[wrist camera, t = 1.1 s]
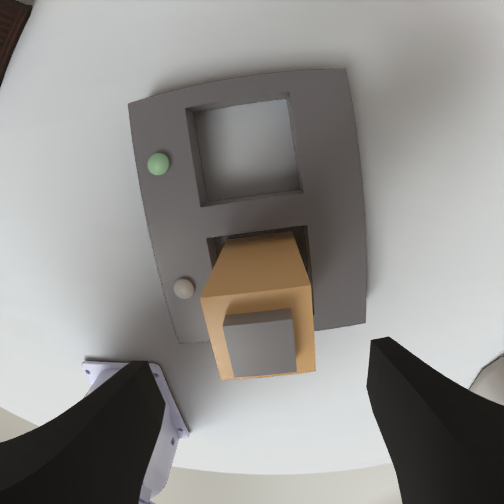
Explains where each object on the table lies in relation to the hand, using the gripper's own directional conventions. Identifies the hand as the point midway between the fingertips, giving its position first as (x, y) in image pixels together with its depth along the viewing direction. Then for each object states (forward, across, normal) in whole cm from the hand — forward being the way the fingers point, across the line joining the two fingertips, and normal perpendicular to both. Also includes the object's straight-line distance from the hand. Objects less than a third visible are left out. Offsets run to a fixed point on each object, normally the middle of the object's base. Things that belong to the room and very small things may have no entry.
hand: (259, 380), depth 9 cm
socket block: (+10, 0, -4) cm, 11 cm away
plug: (+10, 0, 0) cm, 10 cm away
